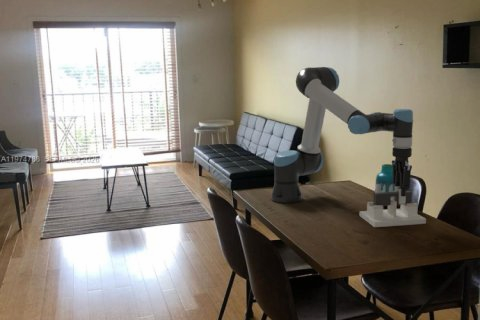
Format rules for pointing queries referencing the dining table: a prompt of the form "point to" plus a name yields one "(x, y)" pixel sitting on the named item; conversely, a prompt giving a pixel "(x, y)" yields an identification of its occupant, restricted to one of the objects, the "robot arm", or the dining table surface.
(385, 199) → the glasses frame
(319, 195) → the dining table surface
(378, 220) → the white pegged base plate
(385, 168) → the vase
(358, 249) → the dining table surface
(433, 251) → the dining table surface
